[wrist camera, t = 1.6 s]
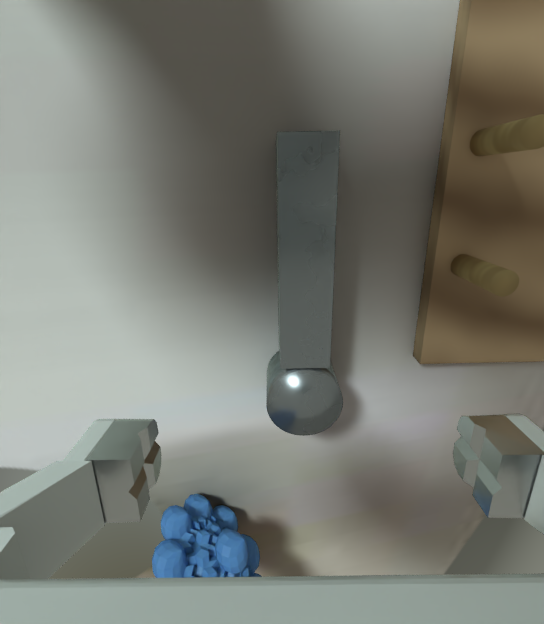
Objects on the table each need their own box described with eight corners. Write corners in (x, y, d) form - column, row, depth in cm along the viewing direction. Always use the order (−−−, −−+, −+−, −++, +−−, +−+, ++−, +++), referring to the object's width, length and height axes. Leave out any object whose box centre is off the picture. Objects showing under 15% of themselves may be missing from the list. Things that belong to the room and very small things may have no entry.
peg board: (460, -1, 21) (536, -74, 15) (641, -4, 21) (791, -79, 15) (412, 355, 30) (450, 400, 23) (543, 352, 30) (615, 396, 23)
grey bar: (260, 141, 24) (258, 132, 20) (343, 139, 24) (358, 130, 20) (267, 401, 31) (267, 436, 27) (331, 400, 31) (340, 434, 27)
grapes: (295, 508, 35) (306, 660, 24) (254, 546, 37) (247, 704, 26) (199, 452, 33) (162, 592, 22) (160, 495, 35) (108, 645, 23)
